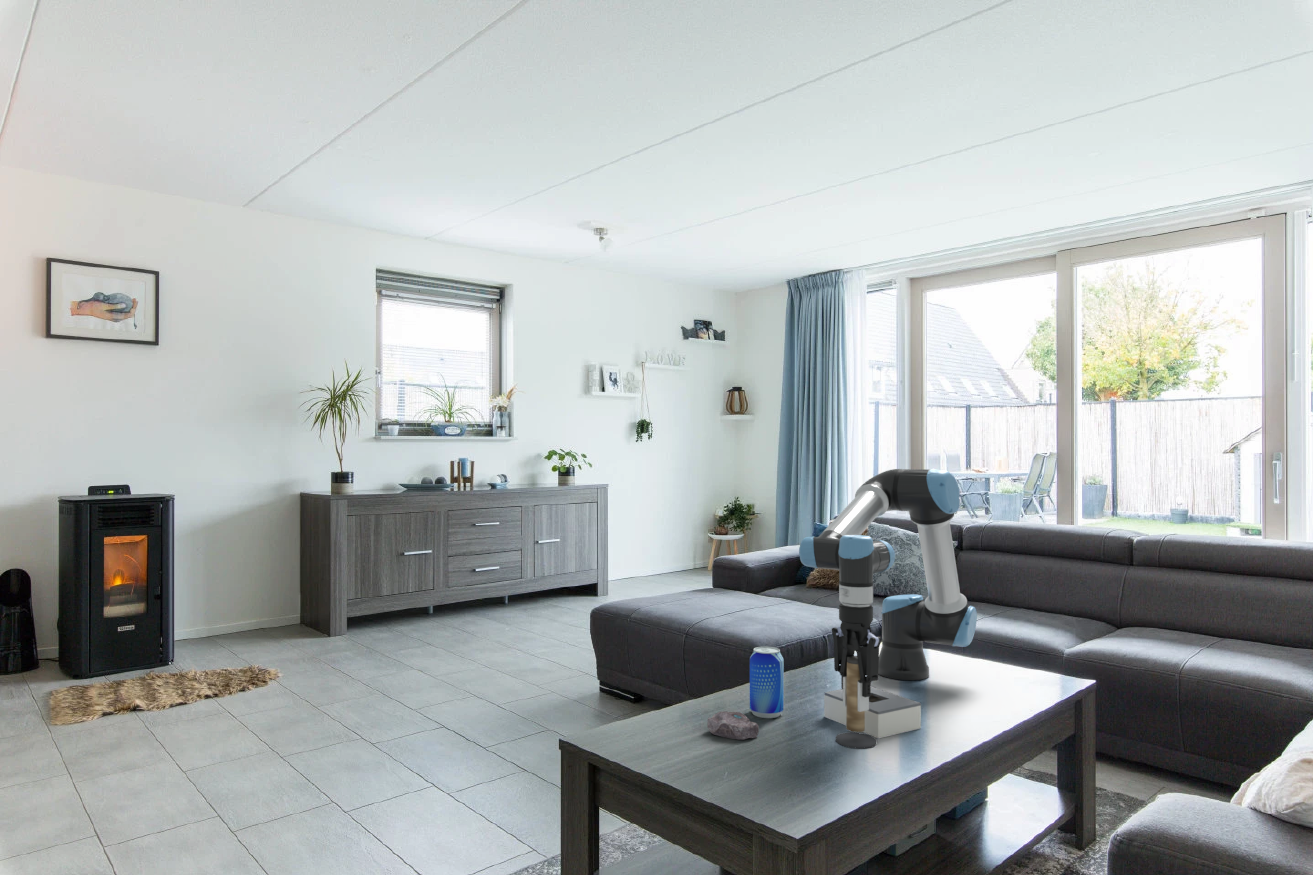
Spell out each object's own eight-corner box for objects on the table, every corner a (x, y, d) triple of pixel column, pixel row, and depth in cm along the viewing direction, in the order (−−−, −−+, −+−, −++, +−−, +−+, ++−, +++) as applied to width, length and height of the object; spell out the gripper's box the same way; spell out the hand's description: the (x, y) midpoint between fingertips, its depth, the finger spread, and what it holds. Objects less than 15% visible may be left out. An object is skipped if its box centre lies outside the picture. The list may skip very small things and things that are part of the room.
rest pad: (827, 738, 187) (827, 736, 187) (856, 732, 192) (856, 729, 192) (855, 751, 180) (855, 748, 180) (885, 744, 184) (885, 741, 184)
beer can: (787, 711, 208) (787, 647, 208) (777, 720, 200) (778, 654, 200) (755, 706, 211) (755, 644, 212) (745, 716, 204) (745, 651, 204)
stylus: (842, 727, 187) (843, 656, 187) (855, 725, 189) (856, 654, 189) (855, 732, 183) (855, 660, 184) (868, 730, 185) (868, 658, 186)
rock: (747, 744, 184) (747, 724, 184) (703, 735, 190) (703, 715, 190) (763, 734, 191) (763, 715, 191) (719, 726, 197) (719, 706, 197)
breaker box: (824, 716, 204) (824, 692, 204) (865, 708, 211) (865, 684, 211) (878, 738, 188) (878, 711, 188) (920, 728, 195) (920, 702, 195)
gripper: (817, 599, 192) (817, 700, 191) (871, 611, 177) (871, 720, 177) (841, 597, 196) (841, 695, 195) (896, 608, 181) (896, 715, 181)
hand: (855, 707), depth 186 cm, fingers closed on stylus, 4 cm apart
